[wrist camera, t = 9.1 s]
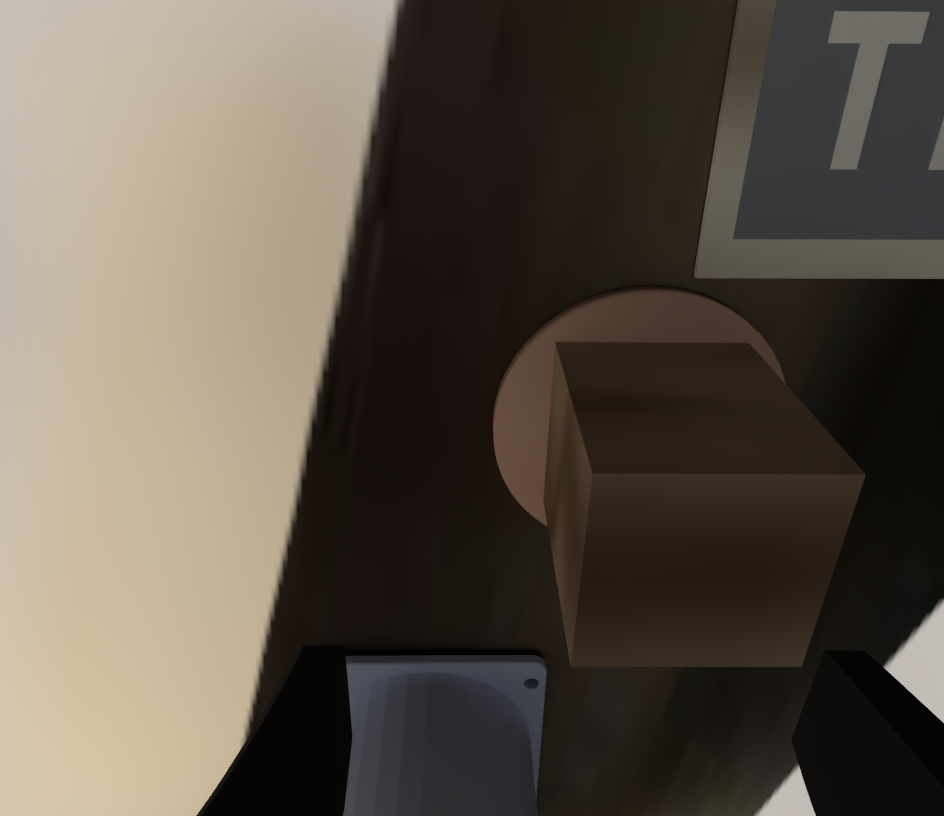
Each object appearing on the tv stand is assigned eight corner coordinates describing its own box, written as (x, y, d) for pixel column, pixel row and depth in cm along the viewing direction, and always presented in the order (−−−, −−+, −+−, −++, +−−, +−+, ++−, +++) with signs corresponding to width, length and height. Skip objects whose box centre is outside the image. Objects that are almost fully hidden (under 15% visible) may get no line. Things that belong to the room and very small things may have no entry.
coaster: (748, 533, 22) (755, 545, 21) (490, 534, 22) (490, 546, 21) (808, 285, 18) (819, 293, 18) (495, 285, 18) (496, 293, 17)
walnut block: (714, 501, 21) (801, 666, 15) (543, 500, 20) (570, 666, 15) (749, 342, 18) (865, 474, 13) (554, 341, 18) (592, 473, 13)
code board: (1006, 276, 18) (1014, 279, 18) (693, 275, 18) (696, 279, 18) (1166, -142, 14) (1178, -145, 14) (761, -145, 14) (767, -149, 14)
